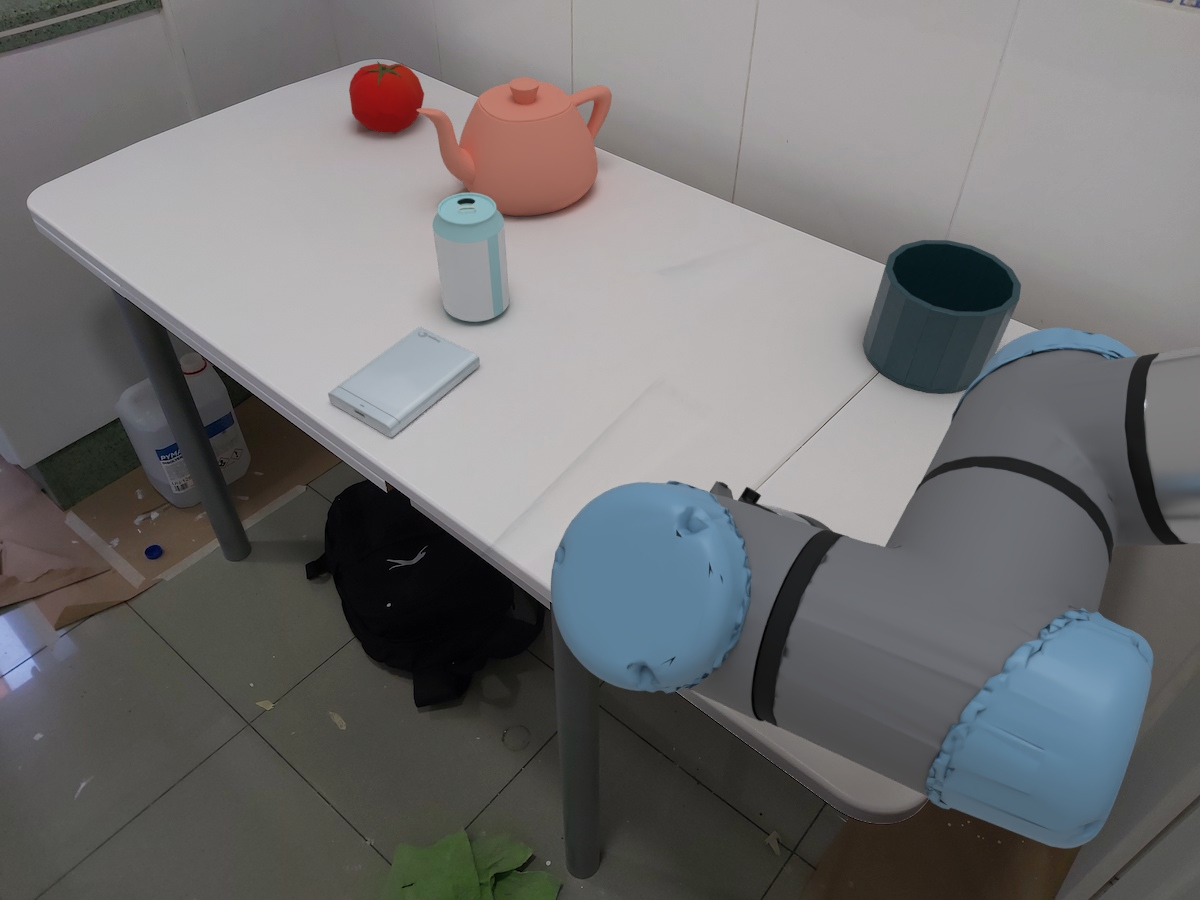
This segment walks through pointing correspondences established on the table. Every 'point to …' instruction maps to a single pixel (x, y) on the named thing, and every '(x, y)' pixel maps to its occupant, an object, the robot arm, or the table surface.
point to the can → (471, 257)
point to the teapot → (525, 145)
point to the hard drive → (404, 381)
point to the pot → (939, 314)
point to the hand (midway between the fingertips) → (860, 582)
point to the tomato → (385, 97)
